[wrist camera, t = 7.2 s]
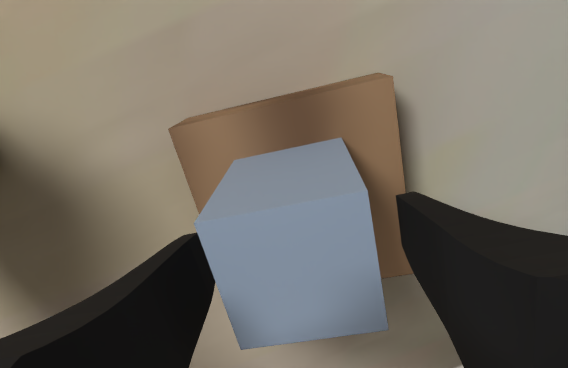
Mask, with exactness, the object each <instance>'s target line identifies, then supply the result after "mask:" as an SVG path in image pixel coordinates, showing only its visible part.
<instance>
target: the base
mask: <svg viewBox="0 0 568 368" xmlns="http://www.w3.org/2000/svg"><path fill="white" fill-rule="evenodd" d="M168 130H169V133H170V135H171V138H172V141H173V144H174V146H175V149H176V152H177V155H178V157H179V160H180V163H181V165H182V168H183V171H184V174H185V176H186V179H187V182H188V185H189V187H190V190H191V193H192V196H193V198H194V201H195V204H196V207H197V209H198V212H199V214H200V213H201V211H202V210H203V208H204V207H205V205H206V204H207V202H208V200H209V199H210V197H211V196H212V194H213V193H214V191H215V189H216V188H217V186H218V185H219V183H220V182H221V180H222V178H223V177H224V175H225V174H226V172H227V171H228V169H229V167H230V166H231V164H232V163H233V161H234V160H237V159H242V158H247V157H251V156H256V155H261V154H265V153H270V152H275V151H280V150H284V149H289V148H294V147H298V146H303V145H308V144H313V143H317V142H322V141H327V140H331V139H336V138H342V140H343V142H344V144H345V146H346V148H347V150H348V152H349V154H350V156H351V158H352V160H353V162H354V164H355V166H356V168H357V170H358V172H359V174H360V176H361V178H362V180H363V182H364V184H365V186H366V188H367V190H368V197H369V203H370V210H371V216H372V223H373V230H374V236H375V243H376V250H377V256H378V263H379V269H380V276H381V278H388V277H394V276H400V275H407V274H413V271H412V269H411V267H410V265H409V262H408V260H407V257H406V255H405V252H404V250H403V247H402V244H401V235H400V227H399V219H398V211H397V203H396V195H399V194H404V193H406V192H405V183H404V174H403V165H402V156H401V147H400V138H399V129H398V119H397V110H396V101H395V92H394V83H393V76H390V75H386V74H381V73H375V74H371V75H366V76H362V77H358V78H354V79H350V80H345V81H341V82H337V83H333V84H329V85H324V86H320V87H316V88H312V89H308V90H303V91H299V92H295V93H291V94H287V95H283V96H278V97H274V98H270V99H266V100H262V101H257V102H253V103H249V104H245V105H241V106H236V107H232V108H228V109H224V110H220V111H215V112H211V113H207V114H203V115H199V116H194V117H190V118H187V119H185V120H184V121H182V122H180V123H178V124H176V125H175V126H173V127H171V128H169V129H168Z"/></svg>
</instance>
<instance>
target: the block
mask: <svg viewBox="0 0 568 368" xmlns="http://www.w3.org/2000/svg"><path fill="white" fill-rule="evenodd" d="M194 225H195V228H196V231H197V233H198V236H199V239H200V241H201V244H202V247H203V249H204V252H205V255H206V257H207V260H208V263H209V266H210V268H211V271H212V274H213V276H214V279H215V282H216V284H217V287H218V290H219V292H220V295H221V298H222V300H223V303H224V306H225V309H226V311H227V314H228V317H229V319H230V322H231V325H232V327H233V330H234V333H235V335H236V338H237V341H238V343H239V346H240V349H241V350H243V349H251V348H258V347H266V346H273V345H281V344H288V343H296V342H303V341H310V340H318V339H325V338H333V337H340V336H348V335H355V334H363V333H370V332H378V331H385V330H389V329H388V322H387V316H386V309H385V303H384V296H383V289H382V283H381V276H380V269H379V263H378V256H377V250H376V243H375V236H374V230H373V223H372V216H371V210H370V203H369V197H368V190H367V188H366V186H365V184H364V182H363V180H362V178H361V176H360V174H359V172H358V170H357V168H356V166H355V164H354V162H353V160H352V158H351V156H350V154H349V152H348V150H347V148H346V146H345V144H344V142H343V140H342V138H336V139H331V140H327V141H322V142H317V143H313V144H308V145H303V146H298V147H294V148H289V149H284V150H280V151H275V152H270V153H265V154H261V155H256V156H251V157H247V158H242V159H237V160H234V161H233V163H232V164H231V166H230V167H229V169H228V171H227V172H226V174H225V175H224V177H223V178H222V180H221V182H220V183H219V185H218V186H217V188H216V189H215V191H214V193H213V194H212V196H211V197H210V199H209V200H208V202H207V204H206V205H205V207H204V208H203V210H202V211H201V213H200V214H199V216H198V218H197V219H196V221H195V222H194Z"/></svg>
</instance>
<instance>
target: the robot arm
mask: <svg viewBox="0 0 568 368" xmlns="http://www.w3.org/2000/svg"><path fill="white" fill-rule="evenodd" d="M396 203H397V211H398V219H399V227H400V235H401V244H402V247H403V250H404V252H405V255H406V257H407V260H408V262H409V265H410V267H411V269H412V271H413V273H414V274H415V276H416V278H417V280H418V281H419V283H420V285H421V287H422V288H423V290H424V292H425V293H426V295H427V297H428V298H429V300H430V302H431V304H432V305H433V307H434V309H435V310H436V312H437V314H438V315H439V317H440V319H441V321H442V322H443V324H444V326H445V328H446V330H447V332H448V334H449V336H450V338H451V340H452V342H453V344H454V347H455V349H456V351H457V353H458V355H459V358H460V360H461V362H462V364H463V366H464V368H568V236H565V235H559V234H553V233H547V232H541V231H535V230H530V229H525V228H521V227H516V226H512V225H508V224H504V223H500V222H496V221H493V220H489V219H486V218H483V217H480V216H477V215H474V214H471V213H468V212H465V211H462V210H460V209H457V208H454V207H452V206H449V205H447V204H444V203H442V202H439V201H437V200H435V199H432V198H430V197H427V196H425V195H422V194H420V193H417V192H409V193H404V194H399V195H396ZM214 286H215V279H214V276H213V274H212V271H211V268H210V266H209V263H208V260H207V257H206V255H205V252H204V249H203V247H202V244H201V241H200V239H199V236H198V233H193V234H187V235H183V236H181V237H180V238H178V239H176V240H175V241H173V242H172V243H170V244H169V245H167V246H166V247H164V248H163V249H162V250H160V251H159V252H157V253H156V254H155V255H153V256H152V257H150V258H149V259H148V260H146V261H145V262H143V263H142V264H141V265H139V266H138V267H136V268H135V269H133V270H132V271H130V272H129V273H127V274H126V275H125V276H123V277H122V278H120V279H119V280H117V281H116V282H114V283H112V284H111V285H109V286H108V287H106V288H104V289H103V290H101V291H99V292H98V293H96V294H94V295H92V296H91V297H89V298H87V299H85V300H84V301H82V302H80V303H78V304H76V305H74V306H72V307H70V308H68V309H66V310H64V311H62V312H60V313H58V314H56V315H54V316H52V317H50V318H48V319H46V320H44V321H41V322H39V323H37V324H35V325H32V326H30V327H28V328H26V329H23V330H21V331H18V332H16V333H14V334H11V335H9V336H6V337H4V338H1V339H0V368H189V365H190V362H191V358H192V355H193V352H194V350H195V347H196V344H197V341H198V338H199V336H200V333H201V330H202V327H203V324H204V322H205V319H206V316H207V313H208V310H209V307H210V304H211V301H212V296H213V292H214Z"/></svg>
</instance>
